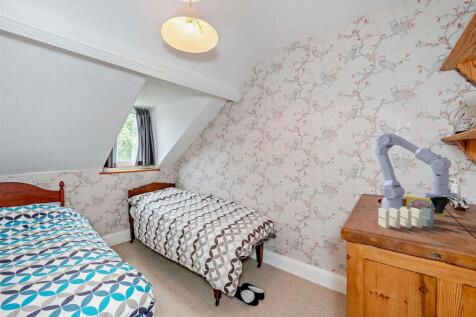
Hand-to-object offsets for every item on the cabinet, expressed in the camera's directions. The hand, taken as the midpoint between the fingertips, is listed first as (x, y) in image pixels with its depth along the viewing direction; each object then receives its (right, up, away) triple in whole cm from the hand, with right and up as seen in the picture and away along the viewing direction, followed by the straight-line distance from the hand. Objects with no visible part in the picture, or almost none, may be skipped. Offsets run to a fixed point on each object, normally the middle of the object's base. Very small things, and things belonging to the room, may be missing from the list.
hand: (439, 213), depth 100 cm
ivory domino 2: (-21, -6, 0) cm, 21 cm away
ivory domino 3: (-16, -6, 0) cm, 17 cm away
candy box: (+11, -5, +20) cm, 23 cm away
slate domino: (-5, -6, 0) cm, 8 cm away
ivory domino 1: (-26, -6, 0) cm, 26 cm away
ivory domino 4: (-11, -6, 0) cm, 12 cm away
